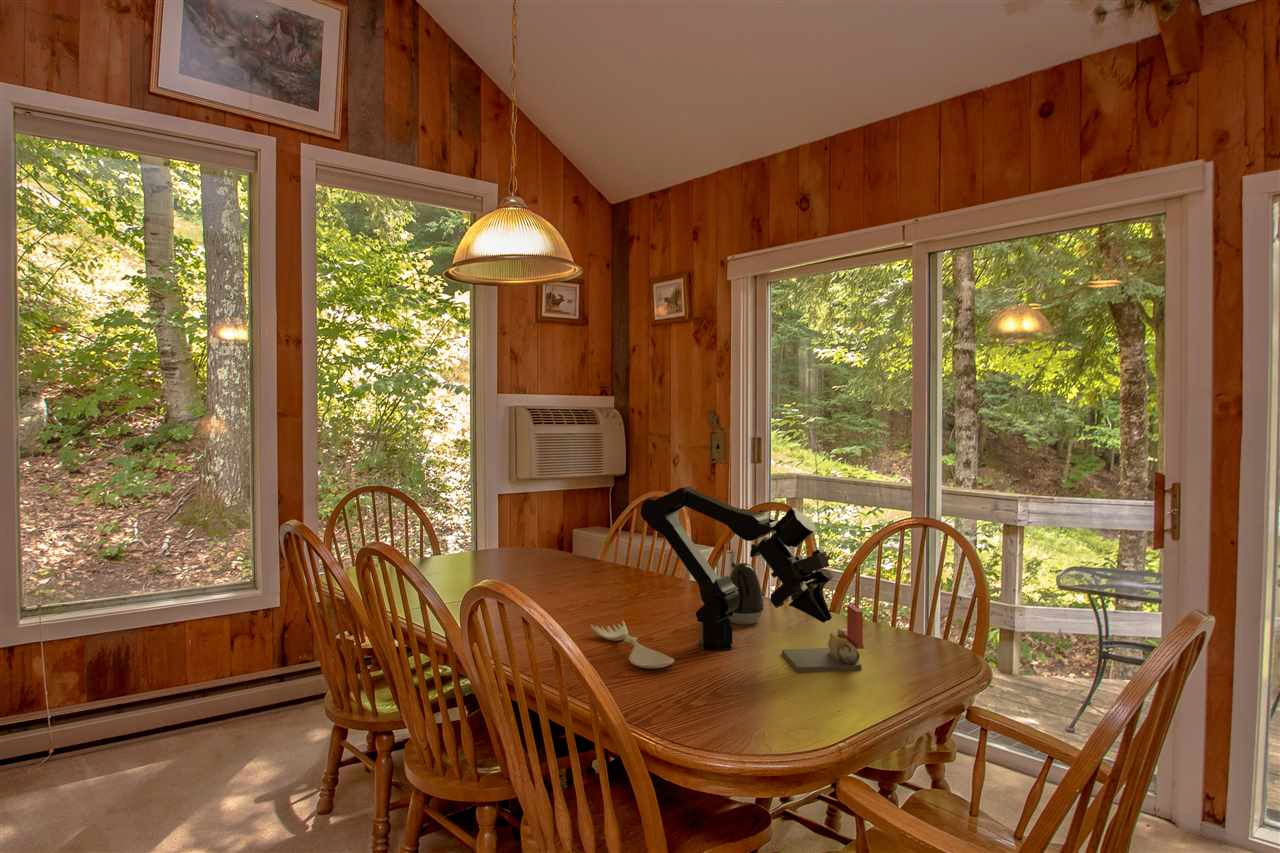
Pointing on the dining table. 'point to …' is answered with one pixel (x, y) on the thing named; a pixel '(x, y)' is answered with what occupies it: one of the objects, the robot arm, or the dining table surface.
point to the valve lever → (853, 627)
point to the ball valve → (842, 649)
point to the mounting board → (815, 660)
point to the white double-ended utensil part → (635, 648)
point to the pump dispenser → (746, 595)
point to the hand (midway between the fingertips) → (827, 620)
